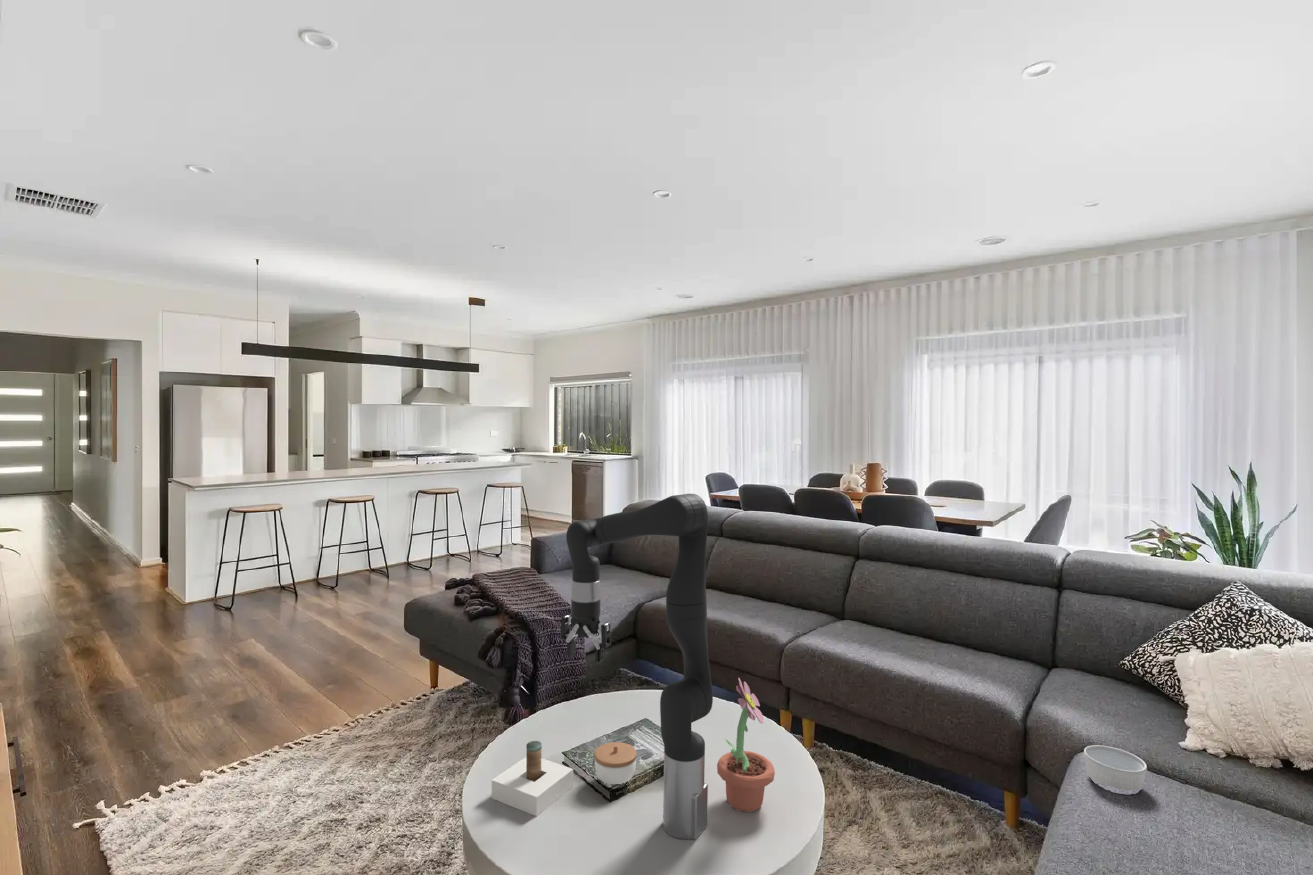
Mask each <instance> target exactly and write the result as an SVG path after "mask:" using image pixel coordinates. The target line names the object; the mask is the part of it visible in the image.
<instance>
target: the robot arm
mask: <svg viewBox="0 0 1313 875" xmlns="http://www.w3.org/2000/svg"><path fill="white" fill-rule="evenodd" d="M708 513H709V512H708V509H707V504H706V502H705V501H704V499H703V498H702V497H701V496H700V495H698V494H696V493H684V494H677V495H670V496H668V497H666V498H663V499H661V500H660V501H657V502H654V503H653V504H650V505H648V506H645V507H642V508H640V509H636V510H628V511H627V510H625V511H621V512H616V513H611V514H606V515H604V516H602V517H598V518H590V519H584V520H578V521H577V520H576V521H574V522H572V523H570V525H569V526H568V528H567V530H566V534H565V535H566V537H565V538H566V539H565V540H566V544H567V548H568V552H569V556H570V560H571V564H572V569H571V570H572V581H571V582H572V583H571V589H570V614H566V615H564V616H562V617H561V621H560V622H561V623H560V624H561V625H560V639H561V640H564V641H565V642H566V649H567V650H566V653H567V655H568V657H569V658H573V657H575V656H576V649H577V648H576V643H577V642H576V639H577V637H581V638H583V637H584V638H585V639H589V640H590V642H591V643H593V645H594V647H595V652H594V654H595V656H594V657H595V659H594V661H595V664H597V665H598V664H600V663H602V662H603V661H604V659H605V649H606V648H608V647H610V646H612V637H611V633H612V632H611V623H610V622H609V621H607V622H605V623H604V622H601V621H600V615H601V576H600V574H601V573H600V572H601V571H600V569H601V567H600V566H601V565H600V560H599V558H598V557H596V556H594V555H590V553H589V550H588V548H591V547H597V546H602V545H605V544H606V545H607V544H615V543H620V542H625V541H626V542H627V541H630V540H633V539H636V538H641V537H644V536H645V537H646V536H667V537H668V536H669V537H671V536H672V537H678V552H677V558H676V561H675V562H676V563H675V564H674V568H673V571H672V573H671V576H670V578H669V581H668V584H667V588H666V595H665V605H666V608H665V609H666V612H665V613H666V623H667V625H668V626H667V627H668V628H669V631H670V633H671V634H672V637H673V638H674V640H675V642H676V644H678V646H679V648H680V651H681V653H682V657H683V659H682V660H683V678H682V679H680V680H676V681H674V682H672V683H669V684H668V685H666V686H664V688H663V689H662V691H661V695H660V701H659V711H660V712H659V714H660V715H659V716H660V733H661V734H660V735H661V739H662V743H663V803H662V805H663V807H662V808H663V812H662V813H663V814H662V820H663V822H662V824H663V827H662V828H663V830H664V831H665V832H666V833H667V834H668V835H669V836H672V837H674V838H677V839H684V840H685V839H692V840H697V839H698V838H699V836H700V835H701V833H703V831H704V830H706V828H707V826H708V800H709V799H708V798H709V797H708V794H709V792H708V791H709V790H708V789H709V785H708V784H707V783H705V764H706V763H705V762H706V761H705V759H706V758H705V755H706V754H705V753H706V742H705V739H704V738H703V736H702V735H701V734H699V733H697V732H696V731H692V724H693V723H694V722H697V721H699V720H701V719H703V718H704V717H706V716H707V715H709V713H710V712H711V711H712V708H713V700H714V695H713V693H714V692H713V685H712V677H711V669H710V661H709V649H708V648H709V645H708V626H707V625H708V621H707V620H708V619H707V618H708V611H707V610H708V606H707V604H708V603H707V589H706V588H707V587H706V586H707V583H706V581H707V580H706V579H707V577H706V576H707V569H706V568H707V567H706V564H707V563H706V562H707V561H706V554H707V553H706V552H707V539H708V538H707V537H708V526H709V525H708V524H709V514H708ZM571 626H572V629H571Z"/></svg>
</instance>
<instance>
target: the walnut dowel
mask: <svg viewBox="0 0 1313 875" xmlns="http://www.w3.org/2000/svg"><path fill="white" fill-rule="evenodd" d="M542 744H543V743H542V742H541V741H539V740H531V741H529V742H527V743H526V757H527V761H526V779H528V780H531V781H533V782H535V781H536V780H538V779H539V778H540V777H541V758H542V748H543V745H542Z"/></svg>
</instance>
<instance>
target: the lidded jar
mask: <svg viewBox="0 0 1313 875" xmlns="http://www.w3.org/2000/svg"><path fill="white" fill-rule="evenodd" d="M637 753H638V752H637V750H636V749H635V747H634V746H633V745H632V744H628V743H626V742H620V741H619V742H617V741H615V742H607V743H604V744H602V745H599V746H597V748H596V749H595V751H594V756H593V757H594V769H595V774H596V776H597V778H598V780H599V779H600V780H601V781H602V782H604V783H609V784H622V783H625V782H627V781H629V780H630V779H631V780H632V779H633V777H634V774H635V772H636V766H637V756H638V755H637ZM600 780H599V781H600ZM631 780H630V781H631ZM601 781H600V782H601ZM630 781H629V782H630ZM602 782H601V783H602Z"/></svg>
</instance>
